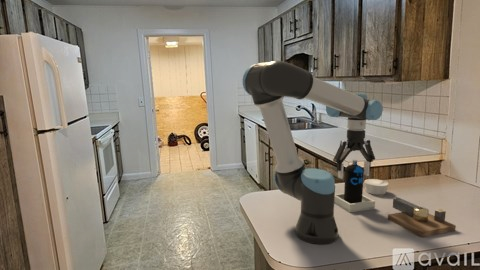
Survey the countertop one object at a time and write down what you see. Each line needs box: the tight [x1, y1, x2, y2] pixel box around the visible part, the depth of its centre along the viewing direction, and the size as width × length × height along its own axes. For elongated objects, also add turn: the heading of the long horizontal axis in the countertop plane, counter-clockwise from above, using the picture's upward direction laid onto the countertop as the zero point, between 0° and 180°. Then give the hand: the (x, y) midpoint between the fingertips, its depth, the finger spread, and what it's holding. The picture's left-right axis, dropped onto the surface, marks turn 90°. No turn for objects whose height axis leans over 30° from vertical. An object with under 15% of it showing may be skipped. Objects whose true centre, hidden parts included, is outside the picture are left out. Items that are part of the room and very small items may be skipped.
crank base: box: [387, 208, 457, 238], centre depth 119 cm, size 16×16×6 cm
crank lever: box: [392, 196, 430, 222], centre depth 124 cm, size 16×5×4 cm, turn 17°
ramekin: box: [363, 178, 389, 196], centre depth 156 cm, size 11×11×5 cm
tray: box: [334, 192, 376, 214], centre depth 139 cm, size 13×13×4 cm
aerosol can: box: [343, 159, 365, 204], centre depth 138 cm, size 8×8×20 cm
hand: (353, 176), depth 137 cm, fingers open, 13 cm apart
